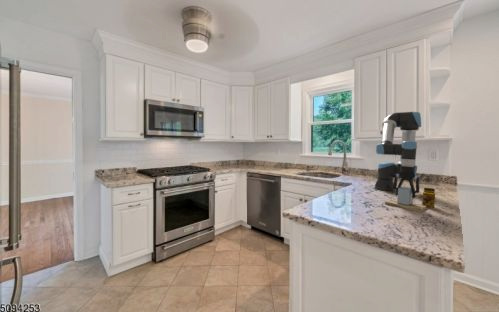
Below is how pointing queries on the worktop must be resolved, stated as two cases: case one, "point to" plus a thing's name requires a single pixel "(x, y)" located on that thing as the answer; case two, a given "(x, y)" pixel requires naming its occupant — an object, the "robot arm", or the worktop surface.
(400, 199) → the block
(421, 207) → the board
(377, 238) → the worktop surface
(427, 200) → the condiment
